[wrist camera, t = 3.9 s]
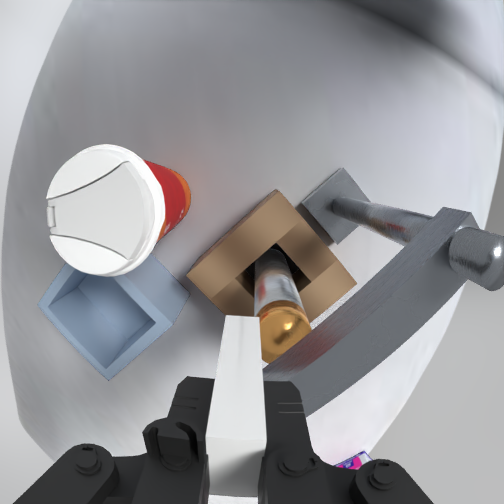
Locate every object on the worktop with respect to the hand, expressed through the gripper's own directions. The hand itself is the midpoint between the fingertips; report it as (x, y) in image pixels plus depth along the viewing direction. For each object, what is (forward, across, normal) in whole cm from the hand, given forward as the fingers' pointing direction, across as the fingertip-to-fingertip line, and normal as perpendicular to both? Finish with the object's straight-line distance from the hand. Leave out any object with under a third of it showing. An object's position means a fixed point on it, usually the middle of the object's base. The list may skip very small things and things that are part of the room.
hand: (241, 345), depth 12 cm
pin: (+17, +2, -1) cm, 18 cm away
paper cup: (+18, -8, +5) cm, 20 cm away
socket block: (+17, +2, -1) cm, 18 cm away
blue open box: (+18, -12, -5) cm, 22 cm away
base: (+17, +8, +5) cm, 20 cm away
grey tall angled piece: (+16, +5, +1) cm, 16 cm away
